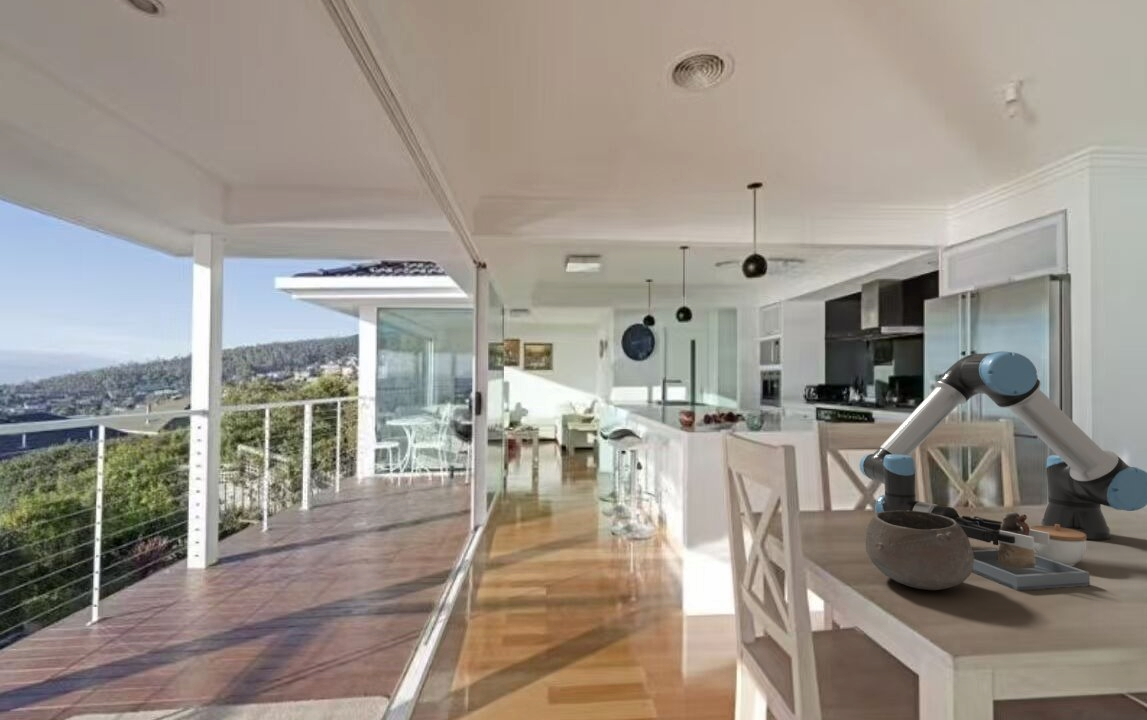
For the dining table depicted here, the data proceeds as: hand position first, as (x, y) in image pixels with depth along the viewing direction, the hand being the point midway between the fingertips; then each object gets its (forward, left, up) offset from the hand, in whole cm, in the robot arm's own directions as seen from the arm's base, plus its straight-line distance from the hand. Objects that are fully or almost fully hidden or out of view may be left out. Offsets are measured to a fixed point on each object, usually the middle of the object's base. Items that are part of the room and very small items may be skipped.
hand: (1040, 541), depth 127 cm
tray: (+2, -5, -9) cm, 10 cm away
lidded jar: (-16, -11, -9) cm, 22 cm away
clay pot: (+29, -3, -9) cm, 30 cm away
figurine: (+2, -5, -7) cm, 8 cm away
